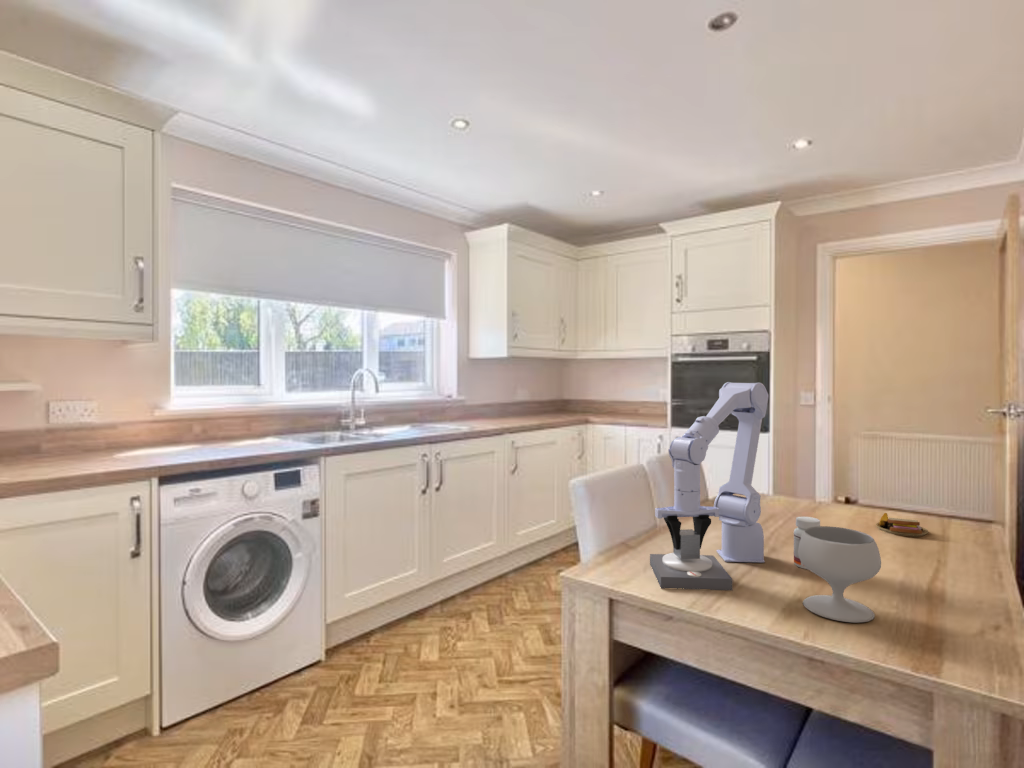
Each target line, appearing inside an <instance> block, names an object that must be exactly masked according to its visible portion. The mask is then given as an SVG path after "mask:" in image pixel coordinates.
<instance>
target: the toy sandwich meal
mask: <svg viewBox="0 0 1024 768" xmlns="http://www.w3.org/2000/svg"><path fill="white" fill-rule="evenodd" d="M875 526H876V527H877V528H878V529H879V530H880V531H882V532H883V533H887V534H892V535H896V536H904V537H924V536H925V535H927V534H928V533H929V529H927V528H926V527H923V526H921V522H920V521H918V520H916V519H907V518H906V519H905V518H895V517H889V516H888V513H887V512H884V513H883V514H882V516H881V517H880V519H879V522H876V523H875Z"/></svg>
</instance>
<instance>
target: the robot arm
mask: <svg viewBox="0 0 1024 768" xmlns="http://www.w3.org/2000/svg"><path fill="white" fill-rule="evenodd" d="M769 396H770V395H769V393H768V391H767V389H766V386H765V385H764V384H763V383H762V382H730V381H727V382H725V383H724V384H723V385H722V386H721V388H720V389H719V391H718V397H719V398H718V399H717V401H715V402H714V405H713V406H712V407H711V409H710V410H709V411H708V413H707V414H706V416H705V415H703V416H697V418H696V419H695V420H694V422H693V424H692V425H691V426H690V427H689V428H688V429H687V430H686V431H685V432H684V433H683V435H682V436H679V437H678V436H677V437H675V438H673V440H672V441H671V442H670V445H669V448H668V450H667V451H668V456H669V457H670V460H671V466H672V469H673V471H674V472H673V483H674V484H673V485H674V486H673V497H674V498H673V499H674V500H673V501H674V503H673V506H672V505H671V506H665V507H655V508H654V516H655V517H656V519H660V520H661V519H663V520H664V523H665V524H666V526H667V529H668V532H669V535H670V537H671V540H672V541H671V542H672V547H674V548H675V549H676V550H679V547H680V530H681V528H682V522H681V521H680V520H679V518H692V522H693V530H694V531H695V532H697V533H698V534H699V535H700V550H701V549H702V545H703V540H704V538H705V535H706V533H707V530H708V529H709V528H710V525H712V518H710V517H714V518H718V521H721V549H716V552H717V554H718V555H719V557H720V558H722V560H723V561H724V562H725V563H728V562H729V563H730V562H731V563H732V562H733V563H735V562H736V563H765V562H766V561H765V559H764V557H765V556H764V555H765V551H764V550H765V548H764V547H765V539H764V538H765V535H764V529H763V526H762V525H761V523H760V522H758V520H760V517H761V513H762V509H761V495H760V493H759V492H758V491H757V490H756V489H755V488H754V486H753V485H752V482H753V477H754V471H755V466H756V465H755V464H756V458H757V452H758V446H759V439H760V434H761V428H762V424H763V418H765V417H766V415H767V414H766V413H767V409H768V402H769ZM730 414H731V415H732V416H734V417H736V418H737V420H738V427H737V434H736V438H735V444H734V451H733V456H732V463H731V469H730V475H729V480H728V481H727V482H726V483H724V484H722V485H721V486H719V488H718V493H717V496H716V497H715V499H714V503H713V506H705V505H701V463H703V461H705V459H706V455H707V452H708V449H709V445H710V444H711V442H712V441H713V440H714V439H715V438H716V437H717V435H718V434H719V432H720V427H719V425H720V424H721V423H723V422H724V420H725V419H726V418H727V417H728V416H729V415H730ZM739 495H740V496H739ZM741 495H742V496H741ZM744 496H745V497H744Z"/></svg>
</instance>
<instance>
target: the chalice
mask: <svg viewBox="0 0 1024 768" xmlns="http://www.w3.org/2000/svg"><path fill="white" fill-rule="evenodd" d="M798 556H799V558H800V561H801V562H802V564H803V565H804V566H805V567H806V568H807V569H806V570H808V569H809V570H808V571H810V572H811V573H813V574H814V575H816V576H818V577H820V578H822V579H823V580H824V581H825V582H827V583H828V584H829V586H830V587H831V590H832V593H831V595H829V594H828V595H826V594H818V595H817V594H816V595H810V596H808V597H806V598H804V599H803V601H802V605H803V606H804V607H805V608H806V609H807V610H808V611H809V612H810V613H813V614H815V615H818V616H820V617H823V618H826V619H829V620H834V621H838V622H845V623H854V624H855V623H857V624H858V623H866V622H870V621H872V620H874V619H875V618H876V617H875V616H876V614H875V612H874V611H873V610H872V609H871V608H869V607H868V606H867V605H864V604H863V603H860V602H859V601H856V600H853V599H851V598H847V597H845V596H844V592H845V590H846V589H847V588H848V587H849V586H851V585H853V584H856V583H860V582H865V581H867V580H870V579H872V578H874V577H875V576H877V574H878V573H880V570H881V568H882V558H881V553H880V550H879V546H878V544H877V542H876V541H875V539H874V537H873V536H871V535H870V534H868V533H866V532H862V531H860V530H856V529H851V528H846V527H841V526H839V527H837V526H828V525H824V526H823V525H820V526H817V527H810V528H807V529H806V530H805V531H804V532H803V534H802V536H801V539H800V542H799V547H798Z"/></svg>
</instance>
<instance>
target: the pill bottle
mask: <svg viewBox="0 0 1024 768" xmlns="http://www.w3.org/2000/svg"><path fill="white" fill-rule="evenodd" d="M817 526H821V520H820V519H819V518H816V517H812V516H796V517H795V528H794V530H793V563H794V565H795V566H796V567H798V568H800V569H804V570H808V571H810V570H809V569H807V568H806V567H805V566H804V565H803V564H802V562H801V561H800V558H799V556H798V547H799V542H800V539H801V536H802V534H803V532H804V531H805V530H806V529H807V528H810V527H817Z"/></svg>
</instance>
